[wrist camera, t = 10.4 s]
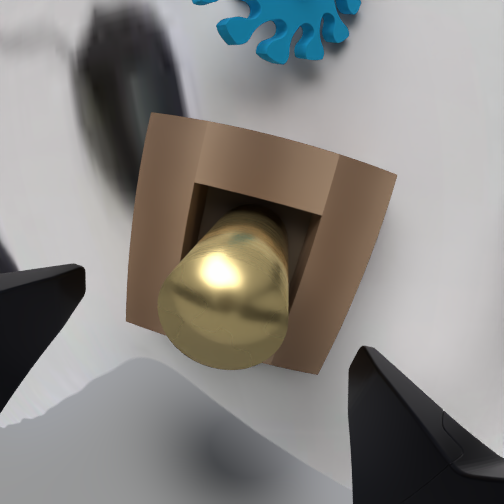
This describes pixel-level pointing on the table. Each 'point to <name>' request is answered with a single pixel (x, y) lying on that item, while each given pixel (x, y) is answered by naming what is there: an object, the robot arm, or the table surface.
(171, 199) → the socket block
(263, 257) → the pin
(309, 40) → the gear
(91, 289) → the table surface
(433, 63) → the table surface
